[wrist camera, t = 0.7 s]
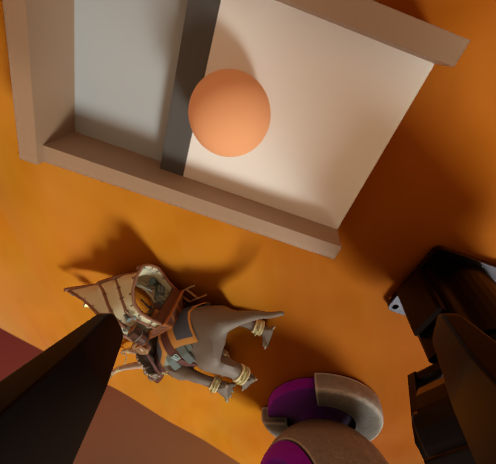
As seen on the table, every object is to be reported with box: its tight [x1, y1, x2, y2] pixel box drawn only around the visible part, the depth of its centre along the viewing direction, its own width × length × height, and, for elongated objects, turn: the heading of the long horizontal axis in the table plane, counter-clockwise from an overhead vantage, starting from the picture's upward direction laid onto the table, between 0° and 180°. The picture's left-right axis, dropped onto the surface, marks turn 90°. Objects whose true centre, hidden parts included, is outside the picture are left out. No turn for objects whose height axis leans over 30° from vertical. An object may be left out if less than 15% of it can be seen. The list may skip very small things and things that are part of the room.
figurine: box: [64, 264, 284, 403], centre depth 26 cm, size 20×6×17 cm
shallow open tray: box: [2, 0, 470, 259], centre depth 16 cm, size 19×12×4 cm, turn 72°
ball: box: [188, 69, 271, 157], centre depth 15 cm, size 4×4×4 cm
